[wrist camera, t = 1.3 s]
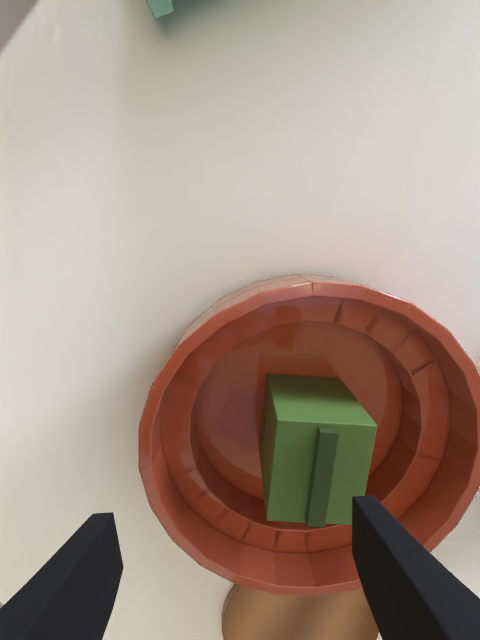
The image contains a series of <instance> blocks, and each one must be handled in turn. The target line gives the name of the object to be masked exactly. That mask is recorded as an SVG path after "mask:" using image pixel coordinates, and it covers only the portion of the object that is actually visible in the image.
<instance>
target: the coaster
mask: <svg viewBox="0 0 480 640" xmlns="http://www.w3.org/2000/svg"><path fill="white" fill-rule="evenodd" d="M222 633H223V639H224V640H377V637H378V634H379V630H378V627H377V625H376V622H375V620H374V617H373V615H372V612H371V610H370V607H369V605H368V602H367V600H366V597H365V594H364V591H363V588H360V589H356V590H353V591H347V592H340V593H334V594H328V595H321V596H299V595H277V594H271V593H268V592H264V591H260V590H256V589H252V588H249V587H245V586H241V585H237V584H236V585H235V586H234V587H233V589H232V590H231V591H230V593H229V595H228V597H227V599H226V602H225V605H224V608H223V614H222Z"/></svg>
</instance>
